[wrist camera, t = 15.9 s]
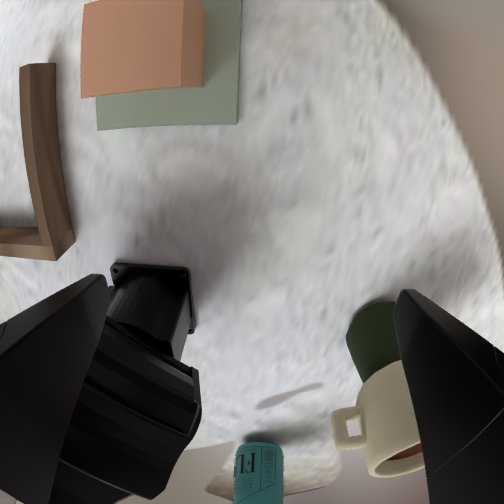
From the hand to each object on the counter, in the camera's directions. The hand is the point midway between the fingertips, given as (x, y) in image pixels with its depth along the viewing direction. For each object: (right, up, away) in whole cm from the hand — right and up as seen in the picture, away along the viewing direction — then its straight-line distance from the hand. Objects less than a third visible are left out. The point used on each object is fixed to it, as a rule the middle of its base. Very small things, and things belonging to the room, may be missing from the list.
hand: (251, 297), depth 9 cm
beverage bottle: (+1, -25, +28) cm, 37 cm away
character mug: (+11, -5, +16) cm, 20 cm away
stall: (-19, +9, +10) cm, 23 cm away
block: (-5, +13, +6) cm, 15 cm away
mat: (-5, +13, +7) cm, 16 cm away
